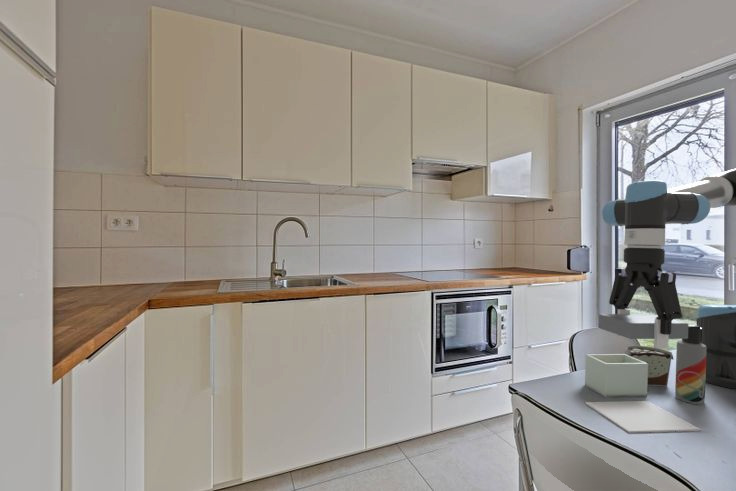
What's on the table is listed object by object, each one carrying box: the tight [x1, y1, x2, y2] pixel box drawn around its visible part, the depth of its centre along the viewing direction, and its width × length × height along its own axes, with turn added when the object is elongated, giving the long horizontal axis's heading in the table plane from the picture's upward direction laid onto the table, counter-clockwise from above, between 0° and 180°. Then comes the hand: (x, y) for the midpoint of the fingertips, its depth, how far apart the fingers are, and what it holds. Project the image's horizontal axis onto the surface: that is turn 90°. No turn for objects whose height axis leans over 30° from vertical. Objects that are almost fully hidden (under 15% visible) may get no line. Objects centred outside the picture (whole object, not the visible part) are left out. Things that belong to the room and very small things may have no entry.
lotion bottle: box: [674, 324, 706, 405], centre depth 89 cm, size 6×6×20 cm
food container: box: [623, 345, 675, 387], centre depth 101 cm, size 12×6×10 cm, turn 84°
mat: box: [585, 400, 701, 434], centre depth 80 cm, size 17×13×1 cm
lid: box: [598, 313, 689, 340], centre depth 80 cm, size 14×9×4 cm
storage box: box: [584, 353, 648, 398], centre depth 94 cm, size 12×8×9 cm, turn 94°
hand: (640, 341), depth 80 cm, fingers closed on lid, 9 cm apart
